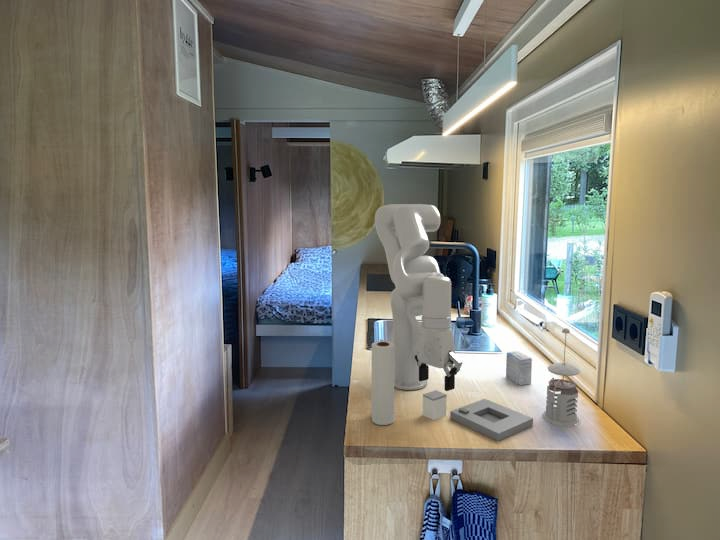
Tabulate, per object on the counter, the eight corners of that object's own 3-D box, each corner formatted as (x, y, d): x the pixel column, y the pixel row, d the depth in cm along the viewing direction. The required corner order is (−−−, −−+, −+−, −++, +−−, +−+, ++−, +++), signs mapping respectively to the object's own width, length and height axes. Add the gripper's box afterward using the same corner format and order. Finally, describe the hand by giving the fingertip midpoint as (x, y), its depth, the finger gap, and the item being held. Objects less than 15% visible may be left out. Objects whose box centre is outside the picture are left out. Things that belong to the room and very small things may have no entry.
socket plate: (450, 418, 136) (450, 409, 136) (484, 405, 145) (484, 396, 144) (498, 441, 124) (498, 431, 123) (532, 425, 132) (533, 416, 132)
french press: (586, 418, 136) (592, 328, 132) (567, 432, 128) (573, 337, 124) (551, 407, 143) (556, 321, 139) (531, 419, 135) (536, 329, 132)
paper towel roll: (388, 427, 131) (388, 348, 128) (367, 422, 134) (367, 345, 131) (399, 417, 137) (400, 341, 134) (379, 412, 140) (380, 338, 137)
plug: (422, 415, 138) (422, 394, 138) (435, 410, 141) (436, 390, 141) (433, 420, 135) (433, 399, 134) (446, 415, 138) (446, 394, 137)
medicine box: (531, 384, 160) (532, 358, 159) (519, 385, 159) (520, 359, 158) (517, 375, 168) (518, 350, 167) (505, 377, 167) (506, 351, 165)
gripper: (404, 319, 139) (404, 379, 141) (450, 330, 125) (450, 397, 127) (424, 315, 143) (423, 374, 145) (471, 326, 129) (470, 390, 131)
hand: (436, 384), depth 136 cm, fingers open, 9 cm apart
